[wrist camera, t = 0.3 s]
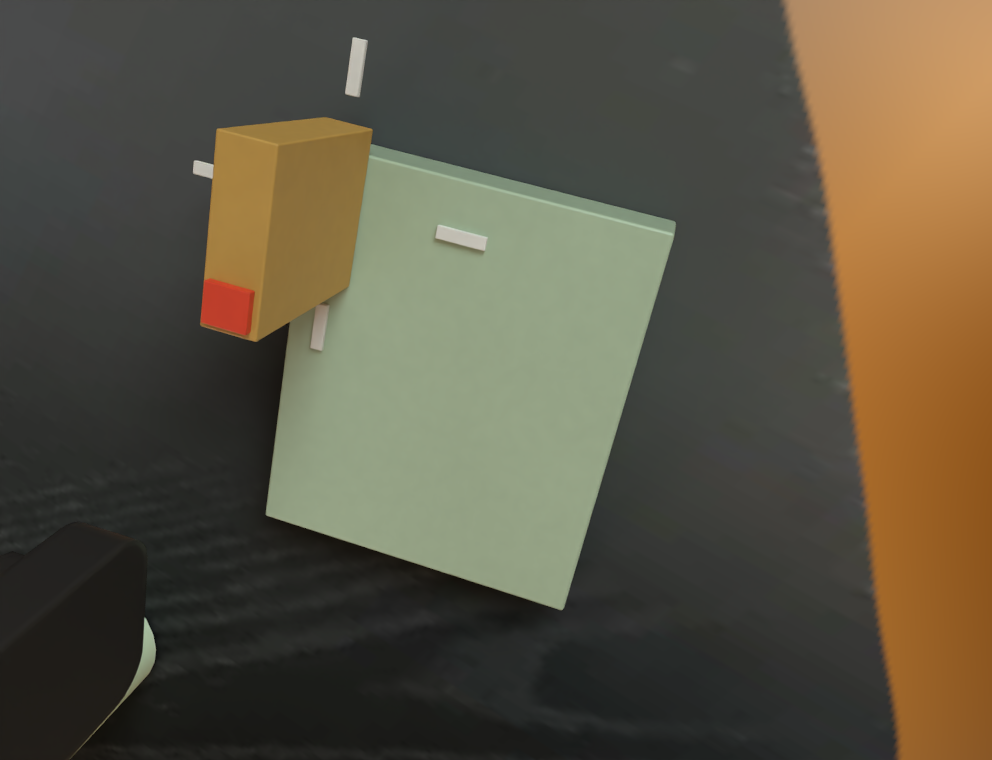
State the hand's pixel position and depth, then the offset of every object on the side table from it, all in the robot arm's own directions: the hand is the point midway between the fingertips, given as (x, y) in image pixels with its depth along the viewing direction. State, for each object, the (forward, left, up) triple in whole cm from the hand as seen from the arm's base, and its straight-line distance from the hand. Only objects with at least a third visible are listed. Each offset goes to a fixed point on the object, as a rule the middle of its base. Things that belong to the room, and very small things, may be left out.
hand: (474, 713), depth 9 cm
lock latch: (-1, -8, -15) cm, 17 cm away
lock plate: (+2, -6, -17) cm, 18 cm away
